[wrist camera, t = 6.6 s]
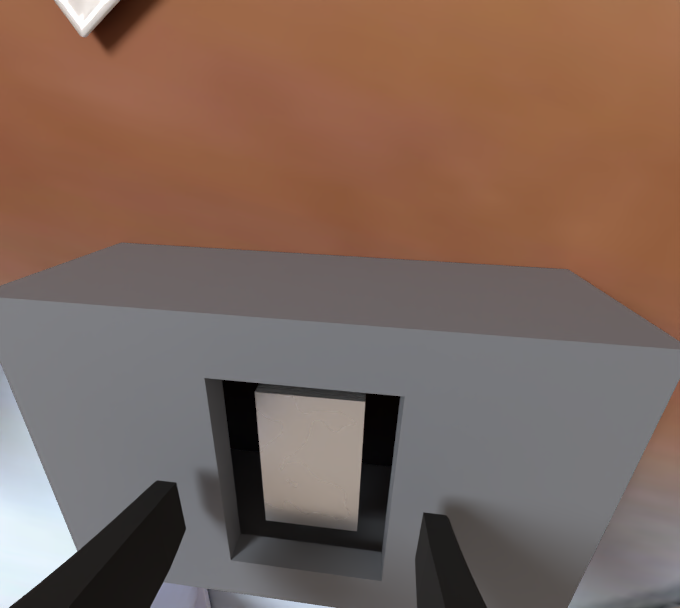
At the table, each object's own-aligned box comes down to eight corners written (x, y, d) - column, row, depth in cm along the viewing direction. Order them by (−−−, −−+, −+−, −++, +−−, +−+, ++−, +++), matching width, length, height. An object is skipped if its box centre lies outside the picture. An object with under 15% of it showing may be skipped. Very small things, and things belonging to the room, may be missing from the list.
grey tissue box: (501, 493, 18) (551, 639, 13) (167, 454, 20) (85, 570, 14) (567, 269, 14) (693, 350, 8) (121, 242, 15) (-27, 295, 10)
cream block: (363, 434, 18) (356, 531, 13) (295, 427, 18) (265, 520, 14) (370, 327, 16) (365, 402, 11) (291, 322, 16) (254, 391, 11)
